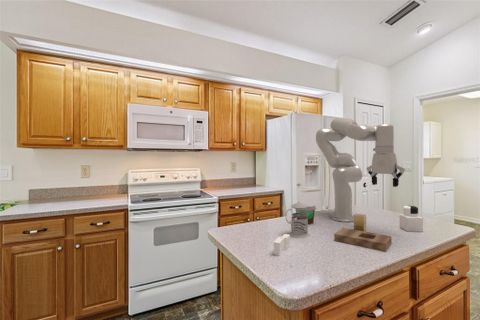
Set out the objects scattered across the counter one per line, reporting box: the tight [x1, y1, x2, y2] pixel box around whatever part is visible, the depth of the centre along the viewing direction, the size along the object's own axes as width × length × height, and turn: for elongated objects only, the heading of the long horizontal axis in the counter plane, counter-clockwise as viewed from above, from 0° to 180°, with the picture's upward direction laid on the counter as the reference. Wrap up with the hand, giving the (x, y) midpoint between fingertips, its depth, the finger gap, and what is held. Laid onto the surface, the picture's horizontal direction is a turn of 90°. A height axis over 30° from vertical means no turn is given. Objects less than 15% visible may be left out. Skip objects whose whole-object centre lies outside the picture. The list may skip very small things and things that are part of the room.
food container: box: [293, 205, 317, 225], centre depth 134 cm, size 12×6×10 cm, turn 73°
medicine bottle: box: [399, 205, 424, 233], centre depth 119 cm, size 7×7×12 cm
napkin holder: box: [273, 233, 291, 256], centre depth 96 cm, size 15×11×6 cm
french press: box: [284, 182, 311, 238], centre depth 115 cm, size 10×12×25 cm
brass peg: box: [353, 213, 367, 232], centre depth 115 cm, size 4×4×9 cm
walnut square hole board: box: [333, 227, 393, 252], centre depth 103 cm, size 20×12×3 cm, turn 48°
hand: (384, 185), depth 114 cm, fingers open, 9 cm apart
